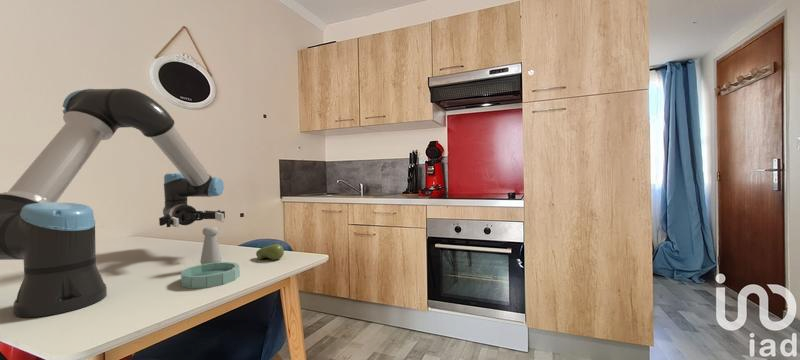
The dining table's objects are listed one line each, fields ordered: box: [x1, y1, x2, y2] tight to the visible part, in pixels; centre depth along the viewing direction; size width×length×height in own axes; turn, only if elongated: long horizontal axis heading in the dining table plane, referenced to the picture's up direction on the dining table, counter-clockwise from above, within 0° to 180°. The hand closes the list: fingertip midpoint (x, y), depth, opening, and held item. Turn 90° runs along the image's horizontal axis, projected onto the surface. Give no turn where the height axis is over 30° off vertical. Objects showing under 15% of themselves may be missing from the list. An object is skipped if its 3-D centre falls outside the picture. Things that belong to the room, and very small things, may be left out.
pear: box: [255, 243, 285, 261], centre depth 114 cm, size 6×5×10 cm
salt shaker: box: [200, 226, 223, 265], centre depth 104 cm, size 6×6×13 cm
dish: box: [180, 261, 240, 289], centre depth 93 cm, size 14×14×3 cm
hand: (201, 220), depth 111 cm, fingers open, 13 cm apart
